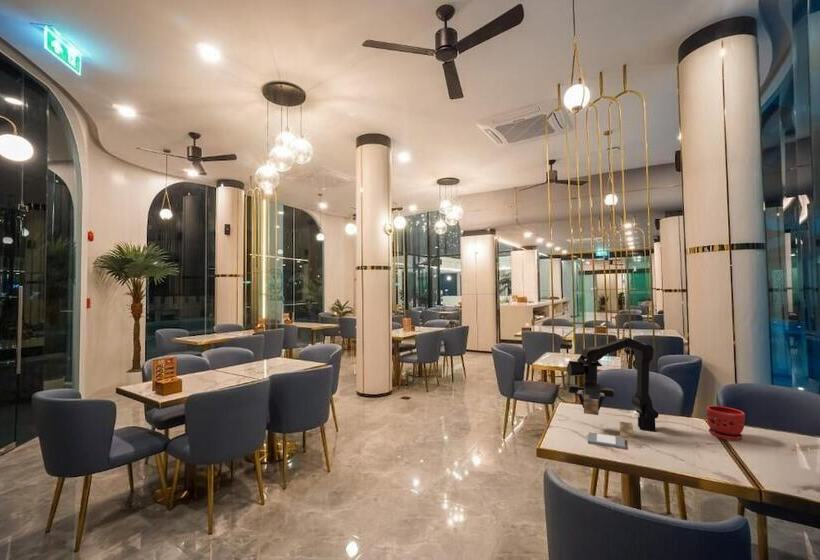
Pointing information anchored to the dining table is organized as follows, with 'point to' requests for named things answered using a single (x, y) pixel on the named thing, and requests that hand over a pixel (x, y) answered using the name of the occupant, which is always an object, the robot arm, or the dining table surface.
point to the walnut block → (591, 406)
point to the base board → (606, 440)
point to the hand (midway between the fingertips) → (591, 408)
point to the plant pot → (725, 422)
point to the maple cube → (626, 429)
